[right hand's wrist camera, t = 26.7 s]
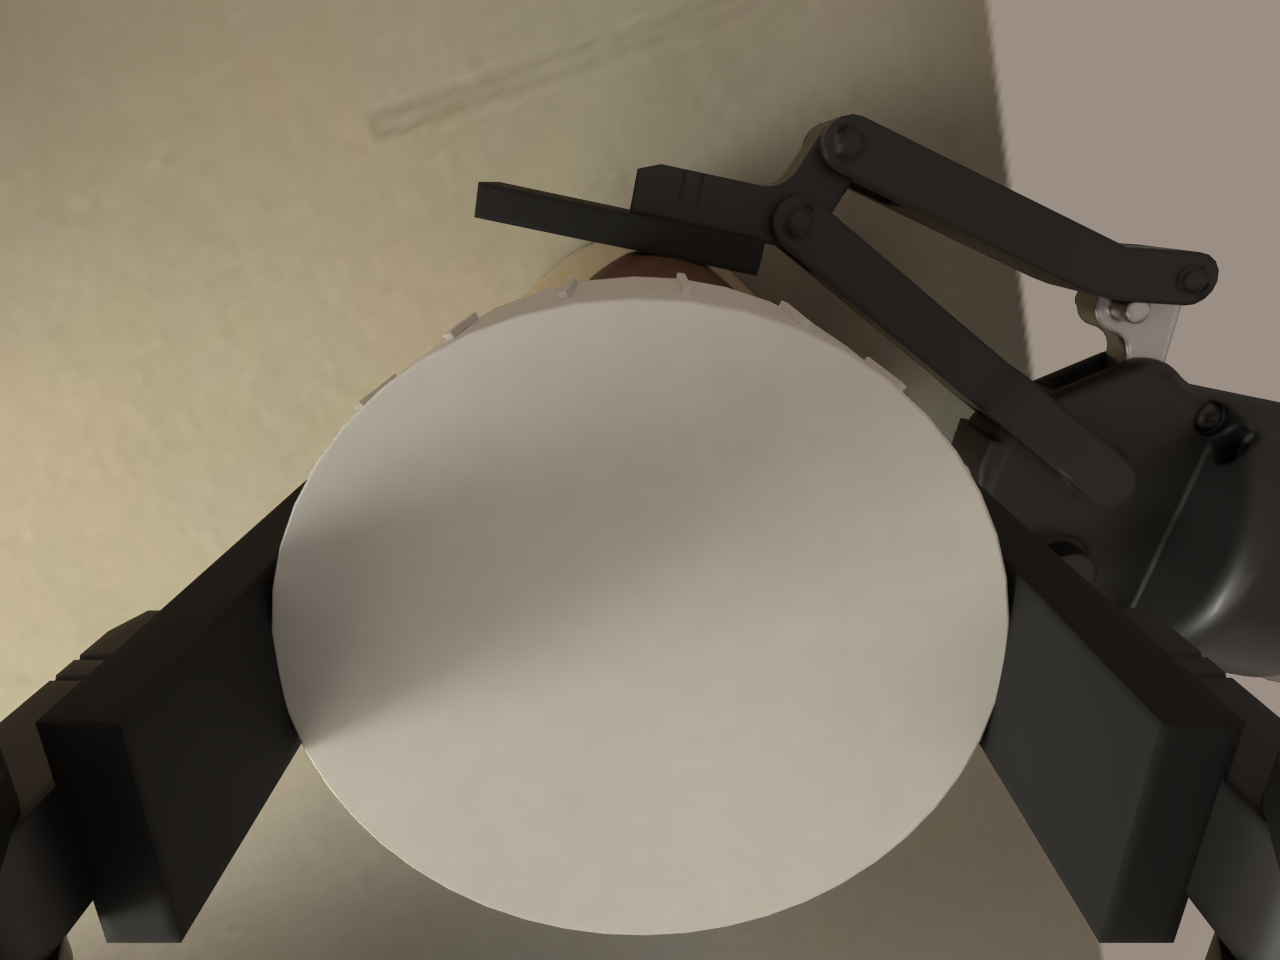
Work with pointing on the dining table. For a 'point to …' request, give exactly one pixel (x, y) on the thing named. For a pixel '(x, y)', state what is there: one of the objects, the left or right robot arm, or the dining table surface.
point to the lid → (640, 609)
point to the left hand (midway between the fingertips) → (464, 388)
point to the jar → (631, 268)
